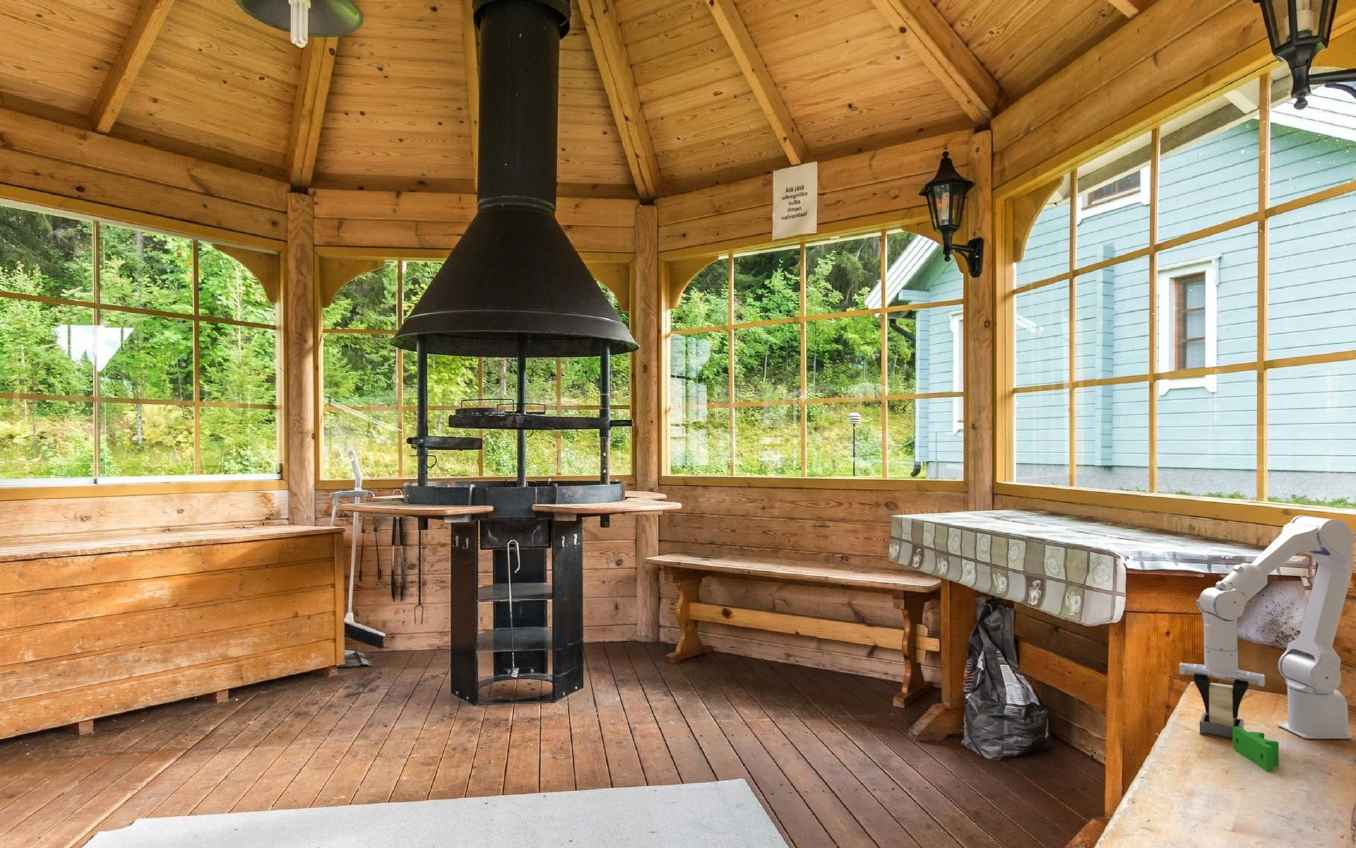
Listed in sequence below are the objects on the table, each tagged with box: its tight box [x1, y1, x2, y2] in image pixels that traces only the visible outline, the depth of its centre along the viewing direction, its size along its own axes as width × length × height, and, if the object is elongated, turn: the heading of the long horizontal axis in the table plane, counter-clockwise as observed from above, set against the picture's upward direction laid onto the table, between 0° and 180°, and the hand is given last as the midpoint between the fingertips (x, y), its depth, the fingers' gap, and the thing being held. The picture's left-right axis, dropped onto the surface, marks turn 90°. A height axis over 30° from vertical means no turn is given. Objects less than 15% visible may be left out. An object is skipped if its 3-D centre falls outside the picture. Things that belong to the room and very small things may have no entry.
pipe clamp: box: [1232, 726, 1280, 773], centre depth 155 cm, size 11×4×5 cm, turn 173°
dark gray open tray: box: [1199, 712, 1245, 741], centre depth 169 cm, size 7×7×2 cm
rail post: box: [1209, 682, 1235, 727], centre depth 169 cm, size 4×4×8 cm
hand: (1221, 714), depth 169 cm, fingers closed on rail post, 4 cm apart
